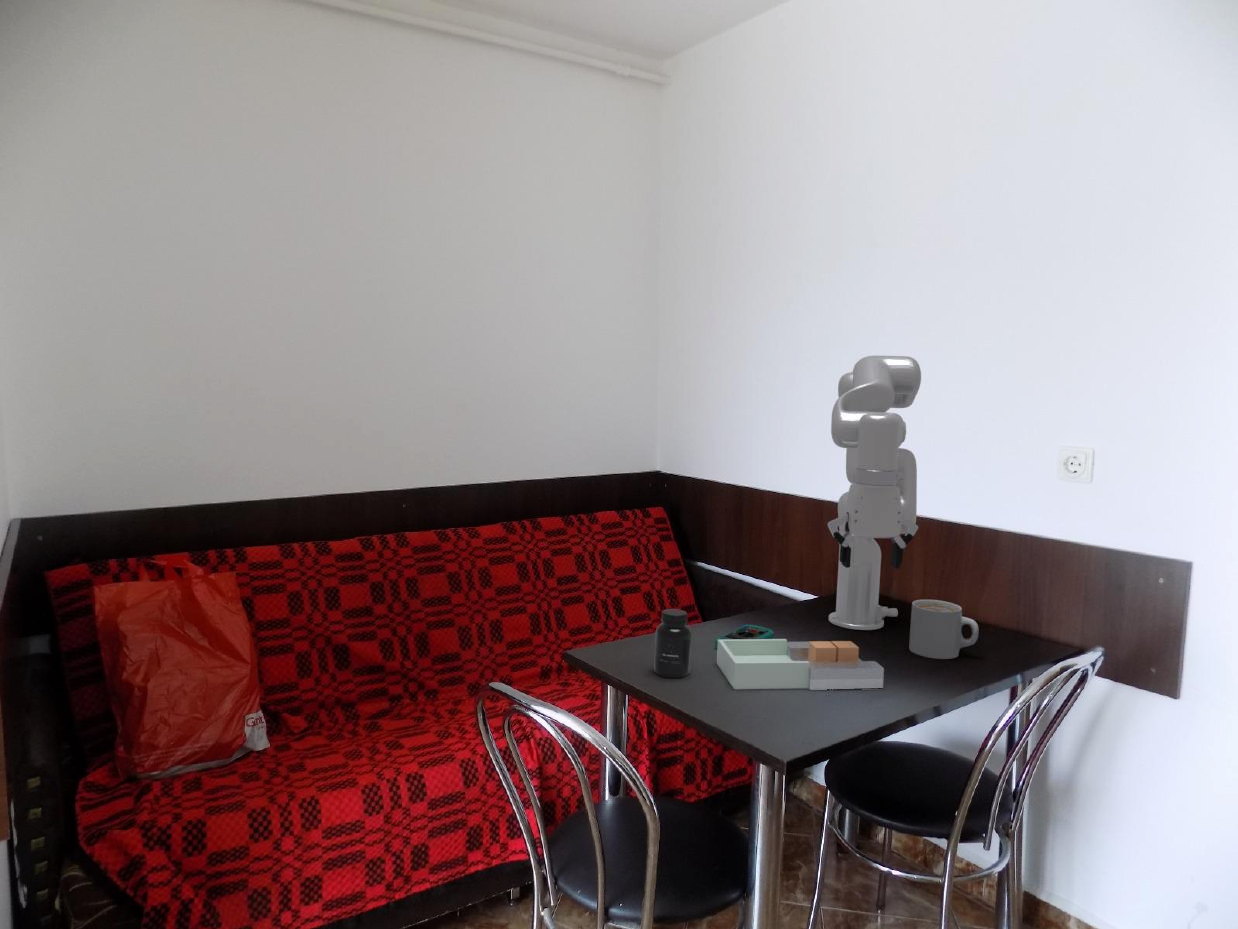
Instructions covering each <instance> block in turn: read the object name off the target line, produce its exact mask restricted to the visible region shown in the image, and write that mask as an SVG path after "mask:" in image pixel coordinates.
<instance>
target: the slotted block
mask: <svg viewBox="0 0 1238 929" xmlns="http://www.w3.org/2000/svg"><path fill="white" fill-rule="evenodd" d="M829 642H830V643H831V641H829ZM808 652H809V641H787V654H786V655H787V656H788V657H789V658H790V659H791V660H792V661H808ZM884 672H885V668H884V667H883V666H882V665H880V664H879V663H878V662H877V661H876V660H862V659H860V658H859V657H858V661H837V662H809V682H808V688H807V689H808V690H809V691H828V690H827V689H830V690H829V691H834V690H833V689H854V688H883V689H884V676H885V673H884ZM831 689H832V690H831Z"/></svg>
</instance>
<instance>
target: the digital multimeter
mask: <svg viewBox="0 0 1238 929" xmlns="http://www.w3.org/2000/svg"><path fill="white" fill-rule="evenodd" d="M774 637H775V632H774V631H773V630H772V629H770V628H767V627H764V626H761V625H756V624H754V625H753V624H744V625H742V626H740V627H738V628H736V629H735V630H733V631H730V632H728V633H725V634H724V635H722V636H719V637H718V638H716V639H715V640H714V649H715V650H717V646H718V640H727V639H775V638H774Z"/></svg>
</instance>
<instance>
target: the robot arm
mask: <svg viewBox="0 0 1238 929" xmlns="http://www.w3.org/2000/svg"><path fill="white" fill-rule="evenodd" d="M921 371H922V370H921V366H920V364H919V362H918V361H917V360H916V359H915V358H913V357H911V356H905V355H904V356H903V355H868V356H864V357H862V358H860V359H858V361H857V362H856V363H855V364H854V366H853V370H852V371H851V372H847V373H845V374H843V375H842V376H841V377H840V378H839V380H838V386H837V395H838V398H837V399H836V401H835V403H834V404H833V408H832V411H831V420H830V421H831V427H830V428H831V430H830V432H831V439H832V441H833V443H834V444H835V445H836V446H837V447H839V448H843V449H846V454H845V474H846V479H847V481H848V482H849V483H850V486H849V489H848V491H846V492H844V493H842V495H841V496H840V497H839V499H838V503H837V516H838V517H836V518H835V519H832V520H829V521H828V522H827V527H828V529H829V531H830V533H831V536H832V537H833V539H834V540H835V541H836V542H837V543H838V544H839V550H838V566H837V568H838V569H837V586H836V600H835V601H836V602H835V603H836V604H835V611H834V612H831V613H829V615H828V621H829V622H830V623H831V624H833V625H835V626H837V627H840V628H844V629H849V630H856V631H857V630H859V631H874V630H879V629H881V628H883V627H884V625H885V623H884V622H885V621H884V618H885V617H891V618H892V617H898V615H899V612H898V609H897V607H895V608H894V607H892V608H889V607H888V606H882V605H880V604H879V599H880V598H879V597H880V595H879V594H880V580H881V579H880V578H881V563H882V550H881V547H880V545H879V544H878V542H877V541H876V540H875V539H890V540H891V541H892V543H893V545H892V546H891V550H890V551H891V552H890V566H891V567H893V568H895V569H896V570H897V569H898V570H899V569H900V568H901V564H903V555H904V554H903V553H904V549H905V548H906V547H907V545H908V544H909V543H910V542H911V541H912V540H913V539H914V536H915V534H916V533H917V531H918V530H919V525H918V524H916V522H917V503H918V502H917V499H918V498H917V496H918V494H917V490H918V489H917V488H918V486H917V483H918V482H917V481H918V480H917V479H918V478H917V477H918V474H917V473H918V469H917V468H918V467H917V466H918V465H917V459H916V457H915V454H914V453H913V452H912V450H909V449H908V448H901V445H902V444H903V443H905V440H906V436H907V424H906V422H905V421H904V419H903V418H902V416H901V415H900V414H898V413H896V412H888V410H890V409H906V408H909V407H910V406H911V405H912V404H914V401H915V399H916V396H917V395H918V392H919V389H920V387H921V382H922V372H921ZM838 528H839V529H838ZM901 534H902V536H901Z"/></svg>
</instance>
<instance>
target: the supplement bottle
mask: <svg viewBox="0 0 1238 929" xmlns="http://www.w3.org/2000/svg"><path fill="white" fill-rule="evenodd" d="M660 620H661V623H660V624H659V625H658V626H657V627H656V630H655V640H654V641H655V643H654V644H655V645H654V664H653V670H654V672H655V674H657V675H658V676H659V675H660V677H662V678H667V679H682V678H685V677H686V676H688V675H689V673H690V663H691V646H692V630H691V628H690V627H689V626H688V625H687V623H688V613H687V611H686V610H681V609H676V608H669V609H664V610H662V612H661V619H660Z"/></svg>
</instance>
